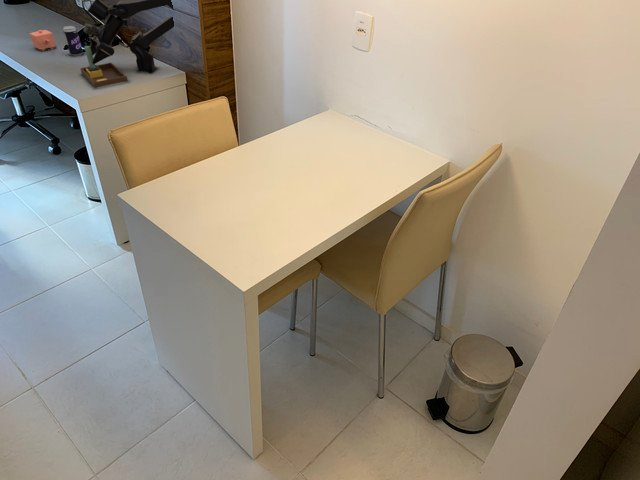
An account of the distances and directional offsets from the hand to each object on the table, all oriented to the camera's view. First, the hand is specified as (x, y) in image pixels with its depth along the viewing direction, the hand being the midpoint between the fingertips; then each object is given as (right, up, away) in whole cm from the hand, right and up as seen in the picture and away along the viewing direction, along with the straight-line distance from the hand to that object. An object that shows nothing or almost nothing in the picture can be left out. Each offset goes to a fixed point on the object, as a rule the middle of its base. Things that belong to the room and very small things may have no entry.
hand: (90, 60), depth 203 cm
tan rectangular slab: (+6, -11, -3) cm, 13 cm away
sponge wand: (0, -5, +4) cm, 6 cm away
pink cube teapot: (-36, +17, +30) cm, 50 cm away
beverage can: (-18, +12, +25) cm, 33 cm away
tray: (+5, -7, +3) cm, 9 cm away
